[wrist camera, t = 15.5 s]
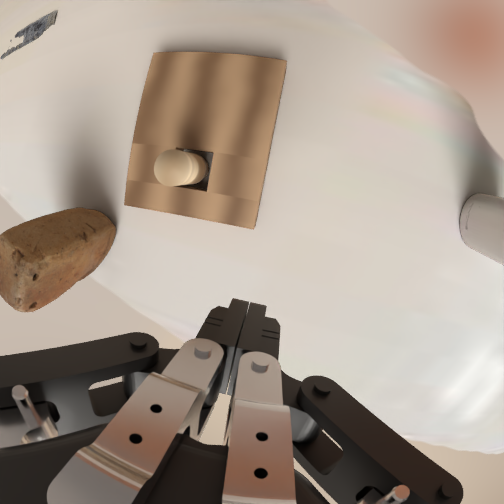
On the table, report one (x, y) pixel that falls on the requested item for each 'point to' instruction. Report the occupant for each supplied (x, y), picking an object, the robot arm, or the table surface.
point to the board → (207, 132)
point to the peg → (180, 168)
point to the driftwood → (33, 31)
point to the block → (51, 255)
